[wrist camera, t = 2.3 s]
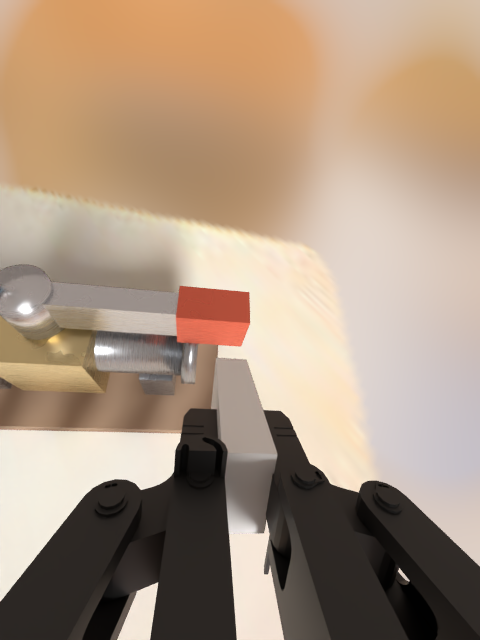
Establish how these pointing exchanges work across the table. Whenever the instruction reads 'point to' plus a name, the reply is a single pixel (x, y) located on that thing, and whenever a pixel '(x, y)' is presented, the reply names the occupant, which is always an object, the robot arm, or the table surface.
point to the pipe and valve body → (93, 360)
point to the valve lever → (120, 309)
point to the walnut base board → (111, 404)
